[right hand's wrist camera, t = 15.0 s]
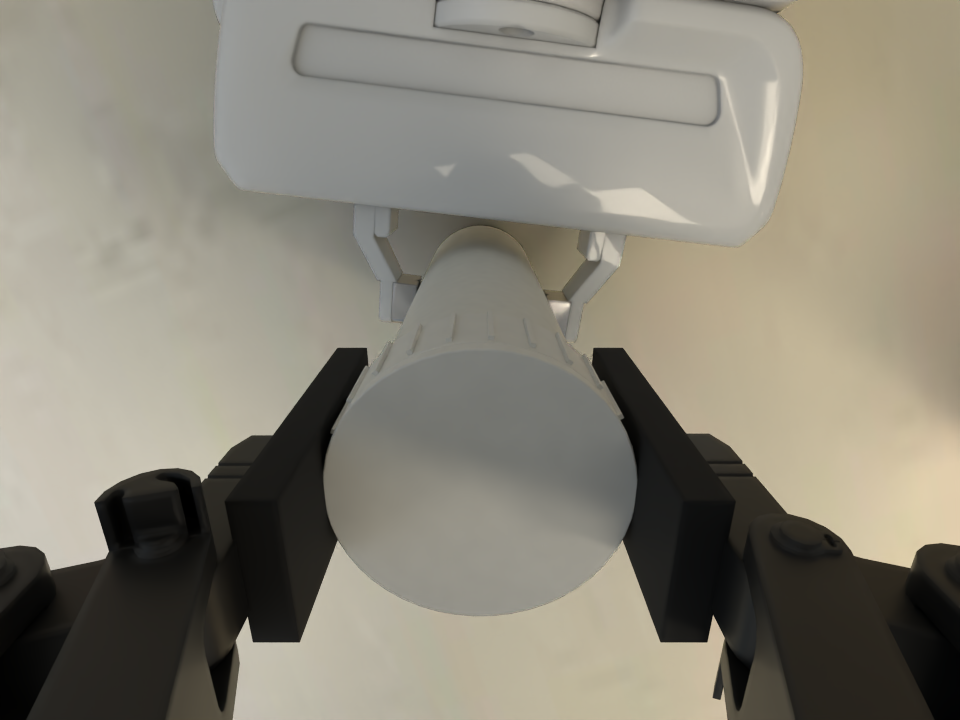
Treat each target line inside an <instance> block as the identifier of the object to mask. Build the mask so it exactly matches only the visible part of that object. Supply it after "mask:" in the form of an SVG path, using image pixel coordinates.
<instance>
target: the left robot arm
mask: <svg viewBox="0 0 960 720" xmlns="http://www.w3.org/2000/svg"><path fill="white" fill-rule="evenodd" d="M796 1H797V0H213V5H214V9H215V13H216V17H217V20H218V22H219V24H220V30H219V39H218V49H217V59H216V71H215V87H214V131H213V137H214V152H215V157H216V159H217V161H218V163H219V165H220V166H221V167H222V169H223V170H224V171H225V173H226V174H227V176H228V177H229V178H230V180H231V181H232V182H233V183H234V185H235V186H236V187H237V188H239V189H241V190H244V191H251V192H259V193H268V194H276V195H285V196H293V197H302V198H311V199H319V200H328V201H336V202H345V203H353V204H354V222H353V235H354V237H355V239H356V241H357V243H358V245H359V246H360V248H361V250H362V252H363V254H364V256H365V258H366V260H367V262H368V263H369V265H370V267H371V269H372V271H373V273H374V275H375V277H376V279H377V280H379V281H380V303H379V319H380V321H383V322H389V323H403V321H404V319H405V317H406V315H407V313H408V310H409V308H410V306H411V304H412V302H413V300H414V297H415V295H416V293H417V291H418V289H419V287H420V285H421V277H422V276H417V275H410V274H402V273H403V272H402V270H401V268H400V265H399V263H398V261H397V259H396V257H395V255H394V253H393V250H392V248H391V246H390V244H389V242H388V240H387V237H388V236H389V235H390V234H391V233H393V232H394V231H395V230H396V229H397V228H398V213H399V209H405V210H414V211H422V212H431V213H439V214H448V215H457V216H465V217H474V218H482V219H491V220H499V221H508V222H517V223H525V224H534V225H542V226H551V227H560V228H568V229H577V230H580V233H579V239H578V245H577V250H578V251H579V252H580V253H581V254H582V255H583V256H584V257H585V258H586V260H585V261H584V262H583V264H582V265H581V266H580V267H579V269H578V270H577V271H576V273H575V274H574V275H573V276H572V278H571V279H570V280H569V282H568V283H567V284H566V285H565V287H564V288H563V289H562V291H553V290H543V292H544V294H545V296H546V298H547V300H548V303H549V305H550V307H551V309H552V311H553V313H554V316H555V318H556V320H557V322H558V324H559V326H560V329H561V331H562V333H563V335H564V337H565V339H566V342H575V341H576V339H577V336H578V332H579V326H580V321H581V316H582V310H583V305H584V303H588V302H589V301H590V299H591V298H592V297H593V296H594V295H595V294H596V293H597V291H598V290H599V289H600V288H601V287H602V286H603V284H604V283H605V282H606V281H607V280H608V279H609V278H610V276H611V275H612V274H613V273H614V272H615V271H616V270H617V268H618V267H619V266H620V264H621V259H622V254H623V250H624V245H625V240H626V236H627V235H628V236H637V237H645V238H654V239H663V240H671V241H680V242H688V243H697V244H706V245H714V246H723V247H732V248H736V247H740V246H742V245H743V244H745V243H746V242H747V241H748V240H750V239H751V238H752V237H753V236H754V235H755V234H756V233H757V232H758V231H759V230H761V229H762V228H763V227H764V226H765V225H766V224H767V222H768V221H769V219H770V217H771V215H772V212H773V210H774V207H775V204H776V201H777V198H778V194H779V191H780V187H781V184H782V180H783V176H784V173H785V169H786V165H787V161H788V157H789V152H790V148H791V143H792V139H793V134H794V129H795V124H796V119H797V113H798V108H799V102H800V96H801V90H802V81H803V56H802V50H801V46H800V42H799V39H798V37H797V35H796V33H795V31H794V29H793V28H792V27H791V25H790V24H789V23H788V22H787V21H786V20H785V19H784V18H783V17H781V16H780V15H778V14H777V13H778V12H780V11H782V10H783V9H785V8H787V7H788V6H790V5H791V4H793V3H794V2H796Z"/></svg>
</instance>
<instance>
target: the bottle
mask: <svg viewBox="0 0 960 720" xmlns="http://www.w3.org/2000/svg"><path fill="white" fill-rule="evenodd" d="M488 311H493V314H497V315H506V316H510V317H514V318H518V319H524V317H526V318H529V321H530V322H531V323H533V324H536V325H539V326H541V327H543V328H545V329H547V330H549V331H550V332H552V333H554V334H556V333H557V332H558V333H560V334H561V335H562V337H563V339H564V341H566V339H565V337H564V335H563V333H562V331H561V329H560V326H559V324H558V322H557V320H556V318H555V316H554V313H553V311H552V309H551V307H550V305H549V303H548V300H547V298H546V296H545V294H544V292H543V290H542V287H541V285H540V283H539V281H538V279H537V277H536V274H535V272H534V270H533V268H532V266H531V264H530V261H529V259H528V257H527V255H526V253H525V251H524V249H523V248H522V247H521V245H520V244H519V243H518V242H517V241H516V240H515V239H514V238H513V237H512V236H511V235H509V234H508V233H506V232H504V231H502V230H500V229H497V228H494V227H490V226H471V227H467V228H463V229H461V230H459V231H456V232H455V233H453V234H452V235H450V236H449V237H448V238H446V239H445V240H444V241H443V243H442V244H441V245H440V246H439V248H438V249H437V251H436V253H435V255H434V257H433V259H432V261H431V263H430V265H429V267H428V269H427V272H426V274H425V276H424V278H423V280H422V282H421V285H420V287H419V289H418V291H417V293H416V295H415V297H414V300H413V302H412V304H411V306H410V308H409V310H408V313H407V315H406V317H405V319H404V321H403V323H402V325H401V328H400V330H399V332H398V334H397V336H396V338H395V341H396V340H397V339H399V338H400V337H402V336H403V335H405V334H407V333H408V332H410V331H412V330H413V329H414V328H415V326H416V325H417V324H419V323H421V325H425V324H427V323H429V322H432V321H435V320H439V319H442V318H446V317H449V316H450V314H451V313H456V315H463V314H482V313H487V312H488ZM395 341H394V342H395Z"/></svg>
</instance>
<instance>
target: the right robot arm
mask: <svg viewBox="0 0 960 720" xmlns="http://www.w3.org/2000/svg"><path fill="white" fill-rule="evenodd" d="M365 366H368V356H367V348H337V349H336V351H335V352H334V353H333V355H332V356H331V358H330V359H329V360H328V362H327V363H326V364H325V366H324V367H323V368H322V370H321V371H320V372H319V374H318V375H317V376H316V378H315V379H314V381H313V382H312V383H311V385H310V386H309V387H308V389H307V390H306V391H305V393H304V394H303V395H302V397H301V398H300V400H299V401H298V402H297V404H296V405H295V406H294V408H293V409H292V410H291V412H290V413H289V414H288V416H287V417H286V418H285V420H284V421H283V423H282V424H281V425H280V427H279V428H278V429H277V431H276V432H275V433H274V435H273V436H250V437H249V438H247V439H245V440H244V441H242V442H240V443H239V444H237V445H235V446H234V447H232V448H231V449H230V450H229V451H228V452H227V454H226V455H225V456H224V457H223V458H222V459H221V461H220V462H219V463H218V464H219V465H218V466H215V468H214V469H213V470H212V471H211V472H210V474H209V475H208V479H204V481H203V482H202V483H201V480H200V477H199V476H198V475H197V474H195V473H194V472H193V471H189V470H184V469H179V468H174V469H159V470H154V471H150V472H146V473H141V474H138V475H136V476H133V477H131V478H128V479H126V480H123V481H121V482H119V483H117V484H116V485H114V486H113V487H111V488H109V489H108V490H106V491H104V493H103V494H102V495H101V496H100V497H99V498H98V499H97V500H96V501H95V502H94V503H95V507H96V510H97V513H98V516H99V520H100V523H101V526H102V529H103V533H104V536H105V539H106V542H107V546H108V549H109V553H108V555H107V557H106V559H103V560H99V561H95V562H90V563H85V564H80V565H75V566H71V567H66V568H61V569H56V570H50V567H49V565H48V562H47V559H46V556H45V554H44V553H43V552H42V551H40V550H39V549H38V548H36V547H28V546H14V547H7V548H1V549H0V720H232V719H233V711H234V704H235V696H236V688H237V680H238V672H239V664H240V662H239V655H238V649H237V644H236V638H237V637H238V635H239V633H240V631H241V629H242V627H243V625H244V623H245V621H246V619H247V617H248V620H249V625H250V630H251V635H252V640H253V642H300V640H301V637H302V635H303V632H304V629H305V627H306V624H307V621H308V619H309V616H310V613H311V610H312V608H313V605H314V602H315V600H316V597H317V594H318V592H319V589H320V586H321V583H322V581H323V578H324V575H325V573H326V570H327V567H328V564H329V562H330V559H331V556H332V554H333V551H334V548H335V546H336V543H337V540H338V539H337V537H336V535H335V533H334V531H333V529H332V526H331V524H330V521H329V518H328V514H327V509H326V501H325V493H324V484H323V468H324V462H325V456H326V452H327V449H328V446H329V443H330V440H331V437H332V435H333V434H331V433H330V432H331V429H332V427H333V425H334V424H335V422H336V420H337V418H338V416H339V414H340V413H341V411H342V409H343V407H344V405H345V403H346V402H347V401H346V400H347V398H348V396H349V395H350V393H351V391H352V389H353V387H354V385H355V384H356V382H357V380H358V378H359V376H360V374H361V373H362V371H363V369H364V368H365ZM592 366H593V368H594V370H595V372H596V374H597V376H598V378H599V380H600V381H603V380H604V382H605V383H606V385H607V387H608V389H609V391H610V393H611V394H612V396H613V398H614V400H615V402H616V404H617V405H618V407H619V409H620V411H621V413H622V415H623V417H624V418H623V419H621V422H622V424H623V426H624V428H625V430H626V432H627V434H628V437H629V440H630V442H631V444H632V446H633V451H634V455H635V460H636V465H637V489H636V497H635V505H634V512H633V516H632V520H631V522H630V525H629V527H628V529H627V532H626V534H625V536H624V538H623V542H624V545H625V547H626V550H627V553H628V555H629V558H630V561H631V564H632V566H633V569H634V572H635V574H636V577H637V580H638V583H639V585H640V588H641V591H642V593H643V596H644V599H645V601H646V604H647V607H648V610H649V612H650V615H651V618H652V620H653V623H654V626H655V628H656V631H657V634H658V637H659V639H660V642H707V641H708V636H709V631H710V627H711V622H712V617H713V615H714V617H715V619H716V621H717V623H718V625H719V627H720V629H721V631H722V633H723V635H724V637H725V640H724V644H723V649H722V653H721V658H720V663H719V667H718V672H717V676H716V681H715V685H714V692H713V698H715V699H719V700H720V699H721V695H722V690H723V687H724V694H725V702H726V710H727V718H728V720H960V546H957V545H950V544H943V543H939V544H929V545H925V546H923V547H922V548H921V549H919V550H918V551H917V552H916V555H915V558H914V560H913V563H912V566H911V568H906V567H901V566H897V565H892V564H887V563H882V562H877V561H872V560H868V559H863V558H859V557H855V556H853V554H852V552H851V550H850V549H849V547H848V546H847V545H846V544H845V542H844V541H843V540H842V539H841V538H840V537H839V536H837V535H836V534H834V533H833V532H832V531H830V530H829V529H828V528H826V527H824V526H822V525H820V524H817V523H815V522H813V521H811V520H809V519H805V518H802V517H798V516H794V515H790V514H787V513H786V512H785V510H784V509H783V508H782V507H781V506H780V505H779V503H778V502H777V501H776V500H775V499H774V498H773V496H772V495H771V494H770V493H769V492H768V491H767V489H766V488H765V487H764V486H763V485H762V484H761V482H760V481H759V480H758V479H757V478H756V477H753V473H752V472H751V471H750V470H749V468H748V467H747V466H746V465H745V464H742V460H741V459H740V458H739V457H738V456H737V454H736V453H735V452H734V451H733V450H732V449H731V447H730V446H728V445H727V444H725V443H723V442H722V441H720V440H718V439H717V438H715V437H713V436H712V435H710V434H686V433H685V431H684V430H683V429H682V427H681V426H680V425H679V423H678V422H677V421H676V419H675V418H674V417H673V415H672V414H671V413H670V411H669V410H668V408H667V407H666V406H665V404H664V403H663V402H662V400H661V399H660V398H659V396H658V395H657V394H656V392H655V391H654V390H653V388H652V387H651V385H650V384H649V383H648V381H647V380H646V379H645V377H644V376H643V375H642V373H641V372H640V371H639V369H638V368H637V367H636V365H635V364H634V362H633V361H632V360H631V358H630V357H629V356H628V354H627V353H626V352H625V350H624V349H623V348H593V360H592Z"/></svg>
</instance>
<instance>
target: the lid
mask: <svg viewBox="0 0 960 720" xmlns="http://www.w3.org/2000/svg"><path fill="white" fill-rule="evenodd" d="M346 401H347V402H346V403H345V405H344V407H343V409H342V411H341V413H340V414H339V416H338V418H337V420H336V422H335V424H334V425H333V427H332V429H331V432H330V433H331V434H333V435H332V437H331V440H330V443H329V446H328V449H327V452H326V456H325V462H324V468H323V484H324V493H325V501H326V509H327V514H328V518H329V521H330V524H331V526H332V529H333V531H334V533H335V535H336V537H337V539H338V541H339V542H340V544H341V545H342V547H343V549H344V550H345V552H346V553H347V555H348V556H349V557H350V558H351V559H352V560H353V562H354V563H355V564H356V565H357V566H358V567H359V568H360V569H361V570H362V571H363V572H364V573H365V574H366V575H367V576H368V577H370V578H371V579H372V580H373V581H374V582H376V583H377V584H379V585H380V586H382V587H383V588H384V589H386V590H387V591H389V592H391V593H393V594H395V595H396V596H398V597H400V598H402V599H404V600H406V601H409V602H411V603H414V604H416V605H418V606H421V607H425V608H428V609H432V610H435V611H439V612H444V613H450V614H455V615H466V616H495V615H504V614H512V613H516V612H521V611H526V610H530V609H533V608H536V607H539V606H542V605H545V604H547V603H550V602H552V601H554V600H556V599H558V598H561V597H563V596H564V595H566V594H568V593H569V592H571V591H573V590H575V589H576V588H578V587H579V586H581V585H582V584H583V583H585V582H586V581H587V580H589V579H590V578H591V577H592V576H593V575H594V574H596V573H597V572H598V571H599V570H600V569H601V568H602V567H603V566H604V565H605V564H606V562H607V561H608V560H609V559H610V557H611V556H612V555H613V554H614V552H615V551H616V550H617V548H618V546H619V545H620V543H621V541H622V540H623V538H624V536H625V534H626V532H627V529H628V527H629V525H630V522H631V520H632V516H633V512H634V505H635V497H636V489H637V465H636V460H635V455H634V451H633V446H632V444H631V442H630V440H629V437H628V434H627V432H626V430H625V428H624V426H623V424H622V422H621V419H623V418H624V417H623V415H622V413H621V411H620V409H619V407H618V405H617V404H616V402H615V400H614V398H613V396H612V394H611V393H610V391H609V389H608V387H607V385H606V383H605V382H604V380H603V381H600V380H599V378H598V376H597V374H596V372H595V370H594V368H593V366H592V364H591V363H590V361H589V359H588V357H587V356H586V355H585V354H583V355H582V356H581V355H580V354H579V353H578V352H577V351H576V350H575V349H574V348H573V347H572V346H571V345H570V344H568V343H567V342H566V341H564V339H563V337H562V335H561V334H560V333H558V332H557V333H556V334H554V333H552V332H550V331H549V330H547V329H545V328H543V327H541V326H539V325H536V324H533V323H531V322H530V321H529V318H526V317H524V319H518V318H514V317H510V316H506V315H497V314H493V311H488V312H487V313H482V314H463V315H456V313H451V314H450V316H449V317H446V318H442V319H439V320H435V321H432V322H429V323H427V324H425V325H421V323H419V324H417V325H416V326H415V328H414V329H413V330H412V331H410V332H408V333H407V334H405V335H403V336H402V337H400V338H399V339H397V340H396V341H395V342H393V343H391V342H390V341H389V342H388V343H387V344H386V345H385V347H384V349H383V351H382V353H381V354H380V355H379V356H378V357H377V358H376V359H375V360H374V362H373V363H372V364H371V366H370V367H368V366H365V368H364V369H363V371H362V373H361V374H360V376H359V378H358V380H357V382H356V384H355V385H354V387H353V389H352V391H351V393H350V395H349V396H348V398H347V400H346Z"/></svg>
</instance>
